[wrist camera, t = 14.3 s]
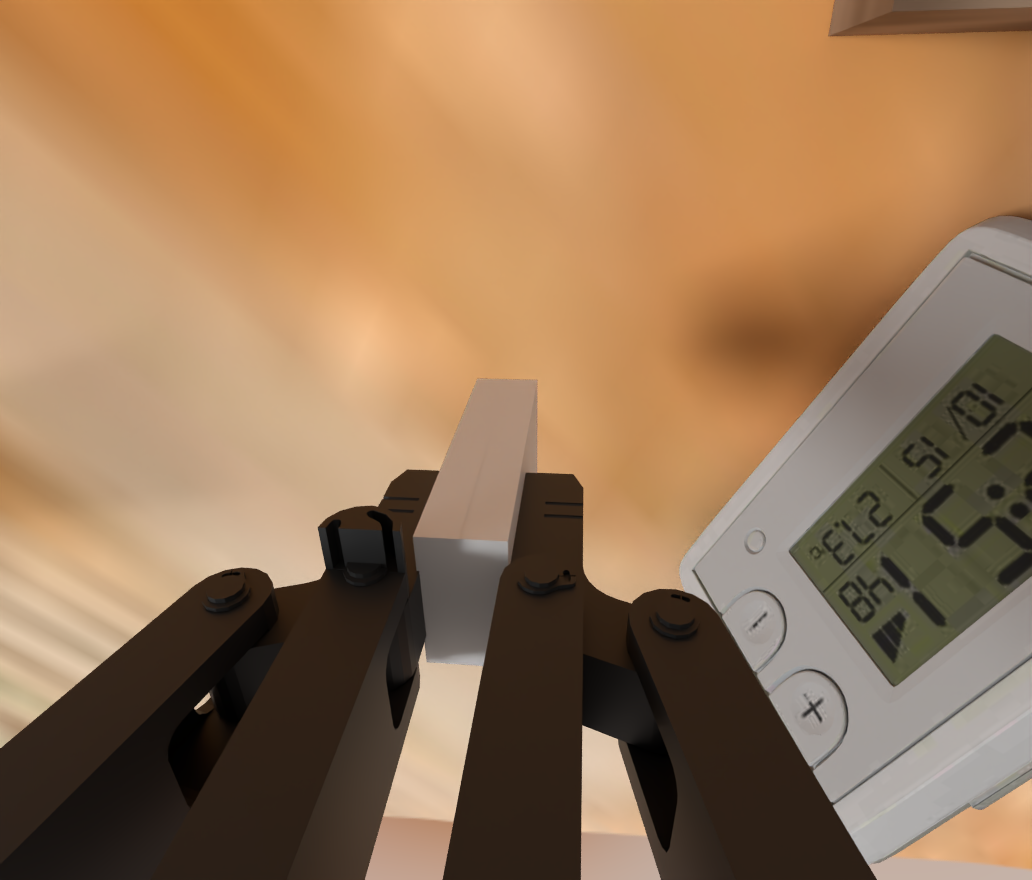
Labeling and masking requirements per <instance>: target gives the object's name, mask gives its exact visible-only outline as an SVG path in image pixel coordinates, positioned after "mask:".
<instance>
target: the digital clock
mask: <svg viewBox="0 0 1032 880" xmlns="http://www.w3.org/2000/svg"><path fill="white" fill-rule="evenodd" d="M679 574H680V579H681V582H682V585H683V588H684V590H685V592H687V593H690V594H693V595H695V596H697V597H698V598H700V599H702V600H703V601H705V602H707V603H708V604H709V605H710V606H711V607H712V608H713V609H714V611H715V612H716V613H717V614H718V615H719V617H720V619H721V620H722V622H723V624H724V625H725V627H726V629H727V630H728V632H729V634H730V635H731V637H732V639H733V640H734V642H735V644H736V645H737V647H738V649H739V650H740V652H741V654H742V655H743V657H744V659H745V660H746V662H747V664H748V665H749V667H750V669H751V670H752V672H753V674H754V675H755V677H756V679H757V680H758V682H759V684H760V685H761V687H762V689H763V690H764V692H765V694H766V695H767V697H768V699H769V700H770V702H771V704H772V705H773V707H774V709H775V710H776V712H777V714H778V715H779V717H780V719H781V720H782V722H783V724H784V725H785V727H786V729H787V730H788V732H789V734H790V735H791V737H792V739H793V740H794V742H795V744H796V745H797V747H798V749H799V750H800V752H801V754H802V755H803V757H804V759H805V760H806V762H807V764H808V765H809V767H810V769H811V770H812V772H813V774H814V775H815V777H816V779H817V780H818V782H819V784H820V786H821V787H822V789H823V791H824V792H825V794H826V796H827V797H828V799H829V801H830V802H831V804H832V806H833V807H834V809H835V811H836V812H837V814H838V816H839V817H840V819H841V821H842V822H843V824H844V826H845V827H846V829H847V831H848V832H849V834H850V836H851V837H852V839H853V841H854V842H855V844H856V846H857V847H858V849H859V851H860V852H861V854H862V856H863V857H864V859H865V861H866V862H867V864H868V865H869V864H874V863H879V862H882V861H884V860H886V859H887V858H889V857H891V856H893V855H895V854H897V853H898V852H900V851H902V850H903V849H905V848H906V847H908V846H909V845H911V844H912V843H914V842H916V841H917V840H919V839H920V838H922V837H923V836H925V835H926V834H928V833H929V832H931V831H933V830H934V829H936V828H937V827H939V826H940V825H942V824H943V823H945V822H947V821H948V820H950V819H951V818H953V817H954V816H956V815H957V814H959V813H960V812H962V811H964V810H965V809H967V808H969V807H970V806H972V807H973V808H975V809H978V810H982V809H985V808H986V807H988V806H989V805H991V804H992V803H994V802H995V801H997V800H999V799H1000V798H1002V797H1003V796H1005V795H1006V794H1008V793H1010V792H1011V791H1013V790H1014V789H1016V788H1017V787H1019V786H1020V785H1022V784H1024V783H1025V782H1027V781H1028V780H1030V779H1031V778H1032V220H1028V219H1025V218H1021V217H1015V216H997V217H993V218H989V219H987V220H985V221H982V222H980V223H978V224H976V225H974V226H972V227H970V228H968V229H967V230H965V231H963V232H961V233H960V234H958V235H957V236H956V237H955V238H954V239H952V240H951V241H950V242H949V243H948V244H947V245H946V246H945V247H944V248H943V249H942V250H941V251H940V252H939V254H938V255H937V256H936V257H935V258H934V259H933V260H932V262H931V263H930V264H929V265H928V266H927V267H926V268H925V269H924V271H923V272H922V273H921V274H920V275H919V276H918V277H917V279H916V280H915V281H914V282H913V283H912V284H911V286H910V287H909V288H908V289H907V290H906V291H905V293H904V294H903V295H902V296H901V297H900V298H899V300H898V301H897V302H896V303H895V304H894V305H893V307H892V308H891V309H890V310H889V311H888V312H887V314H886V315H885V316H884V317H883V318H882V320H881V321H880V322H879V323H878V324H877V326H876V327H875V328H874V329H873V330H872V331H871V333H870V334H869V335H868V336H867V337H866V339H865V340H864V341H863V342H862V343H861V345H860V346H859V347H858V348H857V349H856V350H855V352H854V353H853V354H852V355H851V356H850V358H849V359H848V360H847V361H846V362H845V364H844V365H843V366H842V367H841V368H840V369H839V371H838V372H837V373H836V374H835V375H834V377H833V378H832V379H831V380H830V381H829V383H828V384H827V385H826V386H825V387H824V388H823V390H822V391H821V392H820V393H819V394H818V396H817V397H816V398H815V399H814V400H813V402H812V403H811V404H810V405H809V406H808V407H807V409H806V410H805V411H804V412H803V413H802V415H801V416H800V417H799V418H798V419H797V421H796V422H795V423H794V424H793V425H792V426H791V428H790V429H789V430H788V431H787V432H786V434H785V435H784V436H783V437H782V438H781V440H780V441H779V442H778V443H777V444H776V445H775V447H774V448H773V449H772V450H771V451H770V453H769V454H768V455H767V456H766V457H765V459H764V460H763V461H762V462H761V463H760V464H759V466H758V467H757V468H756V469H755V470H754V472H753V473H752V474H751V475H750V476H749V478H748V479H747V480H746V481H745V482H744V483H743V485H742V486H741V487H740V488H739V489H738V491H737V492H736V493H735V494H734V495H733V497H732V498H731V499H730V500H729V501H728V502H727V504H726V505H725V506H724V507H723V508H722V510H721V511H720V512H719V513H718V514H717V516H716V517H715V518H714V519H713V520H712V522H711V523H710V524H709V525H708V526H707V528H706V529H705V530H704V531H703V533H702V534H701V535H700V536H699V538H698V539H697V540H696V541H695V543H694V544H693V545H692V546H691V548H690V549H689V550H688V552H687V553H686V554H685V556H684V558H683V559H682V561H681V564H680V568H679Z"/></svg>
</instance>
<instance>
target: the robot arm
mask: <svg viewBox="0 0 1032 880" xmlns="http://www.w3.org/2000/svg"><path fill="white" fill-rule="evenodd" d="M318 531H319V536H320V541H321V546H322V551H323V556H324V561H325V566H326V570H325V572H324V573H323V575H322V577H321V579H319V580H317V581H313V582H309V583H304V584H299V585H293V586H287V587H281V588H275V589H274V587H273V583H272V581H271V579H270V578H269V576H268V574H266V573H264V572H262V571H260V570H258V569H252V568H236V569H230V570H225V571H222V572H219V573H217V574H214V575H212V576H209V577H207V578H206V579H204V580H203V581H201V582H200V583H198V584H196V585H195V586H194V587H192V588H191V589H190V590H189V591H188V592H186V593H185V594H184V595H183V596H182V597H180V598H179V599H178V600H177V601H176V602H174V603H173V604H172V605H171V606H170V607H168V608H167V609H166V610H165V611H164V612H163V613H161V614H160V615H159V616H158V617H157V618H155V619H154V620H153V621H152V622H151V623H149V624H148V625H147V626H146V627H145V628H143V629H142V630H141V631H140V632H139V633H137V634H136V635H135V636H134V637H133V638H132V639H130V640H129V641H128V642H127V643H126V644H124V645H123V646H122V647H121V648H120V649H118V650H117V651H116V652H115V653H114V654H112V655H111V656H110V657H109V658H108V659H106V660H105V661H104V662H103V663H102V664H101V665H99V666H98V667H97V668H96V669H95V670H93V671H92V672H91V673H90V674H89V675H87V676H86V677H85V678H84V679H83V680H81V681H80V682H79V683H78V684H77V685H75V686H74V687H73V688H72V689H71V690H70V691H68V692H67V693H66V694H65V695H64V696H62V697H61V698H60V699H59V700H58V701H56V702H55V703H54V704H53V705H52V706H50V707H49V708H48V709H47V710H46V711H44V712H43V713H42V714H41V715H40V716H39V717H37V718H36V719H35V720H34V721H33V722H31V723H30V724H29V725H28V726H27V727H25V728H24V729H23V730H22V731H21V732H19V733H18V734H17V735H16V736H15V737H13V738H12V739H11V740H10V741H9V742H8V743H6V744H5V745H4V746H3V747H2V748H0V880H365V876H366V873H367V869H368V866H369V863H370V859H371V855H372V852H373V848H374V845H375V842H376V838H377V835H378V831H379V828H380V824H381V821H382V817H383V814H384V810H385V807H386V803H387V800H388V796H389V793H390V789H391V786H392V782H393V779H394V775H395V772H396V768H397V765H398V761H399V758H400V754H401V751H402V747H403V744H404V740H405V737H406V733H407V730H408V726H409V723H410V719H411V716H412V712H413V709H414V705H415V702H416V698H417V695H418V691H419V688H420V672H419V664H418V661H419V658H420V655H421V652H422V648H423V645H424V642H425V650H426V659H427V662H433V663H447V664H462V665H476V666H483V670H482V675H481V680H480V686H479V691H478V696H477V701H476V707H475V712H474V717H473V723H472V728H471V733H470V738H469V744H468V749H467V754H466V759H465V765H464V770H463V775H462V781H461V786H460V791H459V796H458V802H457V807H456V812H455V818H454V823H453V828H452V834H451V839H450V844H449V849H448V854H447V860H446V866H445V870H444V876H443V880H581V795H582V725H583V726H586V727H588V728H591V729H594V730H596V731H599V732H601V733H604V734H606V735H609V736H611V737H614V738H617V739H618V743H619V748H620V751H621V754H622V758H623V761H624V764H625V767H626V770H627V773H628V777H629V780H630V783H631V786H632V789H633V792H634V795H635V799H636V802H637V805H638V808H639V811H640V814H641V818H642V821H643V824H644V827H645V830H646V833H647V837H648V840H649V843H650V846H651V849H652V852H653V855H654V858H655V862H656V865H657V868H658V871H659V874H660V878H661V880H877V879H876V877H875V876H874V874H873V872H872V871H871V869H870V867H869V866H868V864H867V862H866V861H865V859H864V857H863V856H862V854H861V852H860V851H859V849H858V847H857V846H856V844H855V842H854V841H853V839H852V837H851V836H850V834H849V832H848V831H847V829H846V827H845V826H844V824H843V822H842V821H841V819H840V817H839V816H838V814H837V812H836V811H835V809H834V807H833V806H832V804H831V802H830V801H829V799H828V797H827V796H826V794H825V792H824V791H823V789H822V787H821V786H820V784H819V782H818V780H817V779H816V777H815V775H814V774H813V772H812V770H811V769H810V767H809V765H808V764H807V762H806V760H805V759H804V757H803V755H802V754H801V752H800V750H799V749H798V747H797V745H796V744H795V742H794V740H793V739H792V737H791V735H790V734H789V732H788V730H787V729H786V727H785V725H784V724H783V722H782V720H781V719H780V717H779V715H778V714H777V712H776V710H775V709H774V707H773V705H772V704H771V702H770V700H769V699H768V697H767V695H766V694H765V692H764V690H763V689H762V687H761V685H760V684H759V682H758V680H757V679H756V677H755V675H754V674H753V672H752V670H751V669H750V667H749V665H748V664H747V662H746V660H745V659H744V657H743V655H742V654H741V652H740V650H739V649H738V647H737V645H736V644H735V642H734V640H733V639H732V637H731V635H730V634H729V632H728V630H727V629H726V627H725V625H724V624H723V622H722V620H721V619H720V617H719V615H718V614H717V613H716V612H715V611H714V609H713V608H712V607H711V606H710V605H709V604H708V603H707V602H705V601H703V600H702V599H700V598H698V597H697V596H695V595H693V594H690V593H687V592H683V591H680V590H676V589H657V590H654V591H650V592H646V593H643V594H642V595H641V596H639V597H638V598H637V599H635V600H634V601H633V603H632V604H631V603H628V602H624V601H621V600H618V599H615V598H613V597H610V596H608V595H606V594H604V593H602V592H601V591H599V590H598V589H596V588H595V587H594V586H593V585H592V584H591V583H590V582H589V581H588V579H587V577H586V576H585V574H584V570H583V487H582V486H581V484H580V483H579V481H578V480H577V479H576V477H575V476H574V475H573V474H552V473H537V380H519V379H479V378H477V381H476V383H475V386H474V388H473V390H472V393H471V395H470V398H469V400H468V403H467V405H466V408H465V410H464V412H463V415H462V417H461V420H460V422H459V425H458V427H457V430H456V432H455V434H454V437H453V439H452V442H451V444H450V447H449V449H448V452H447V454H446V457H445V459H444V461H443V464H442V466H441V469H440V471H431V470H406V471H405V472H404V473H402V474H401V475H400V476H398V477H397V478H396V479H394V480H393V481H392V482H391V483H390V485H389V487H388V489H387V491H386V493H385V495H384V499H382V500H381V502H380V504H379V506H378V507H376V506H360V507H353V508H349V509H346V510H342V511H339V512H338V513H336V514H334V515H332V516H330V517H328V518H327V519H326V520H325V521H324V522H323V523H322V524H321V525H320V526H319V527H318ZM208 693H210V696H211V698H210V699H209V700H208V701H207V702H206V703H205V704H203V705H202V706H201V707H199V708H198V709H197V710H194V707H195V706H196V705H197V704H198V703H199V702H200V701H201V700H202V699H203V698H204V697H205V696H206V695H207V694H208Z"/></svg>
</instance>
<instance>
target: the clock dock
mask: <svg viewBox="0 0 1032 880" xmlns="http://www.w3.org/2000/svg"><path fill="white" fill-rule="evenodd" d="M997 31H1032V0H835V3H834V8H833V14H832V19H831V25H830V30H829V36H851V35H888V34H924V33H961V32H997Z"/></svg>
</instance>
